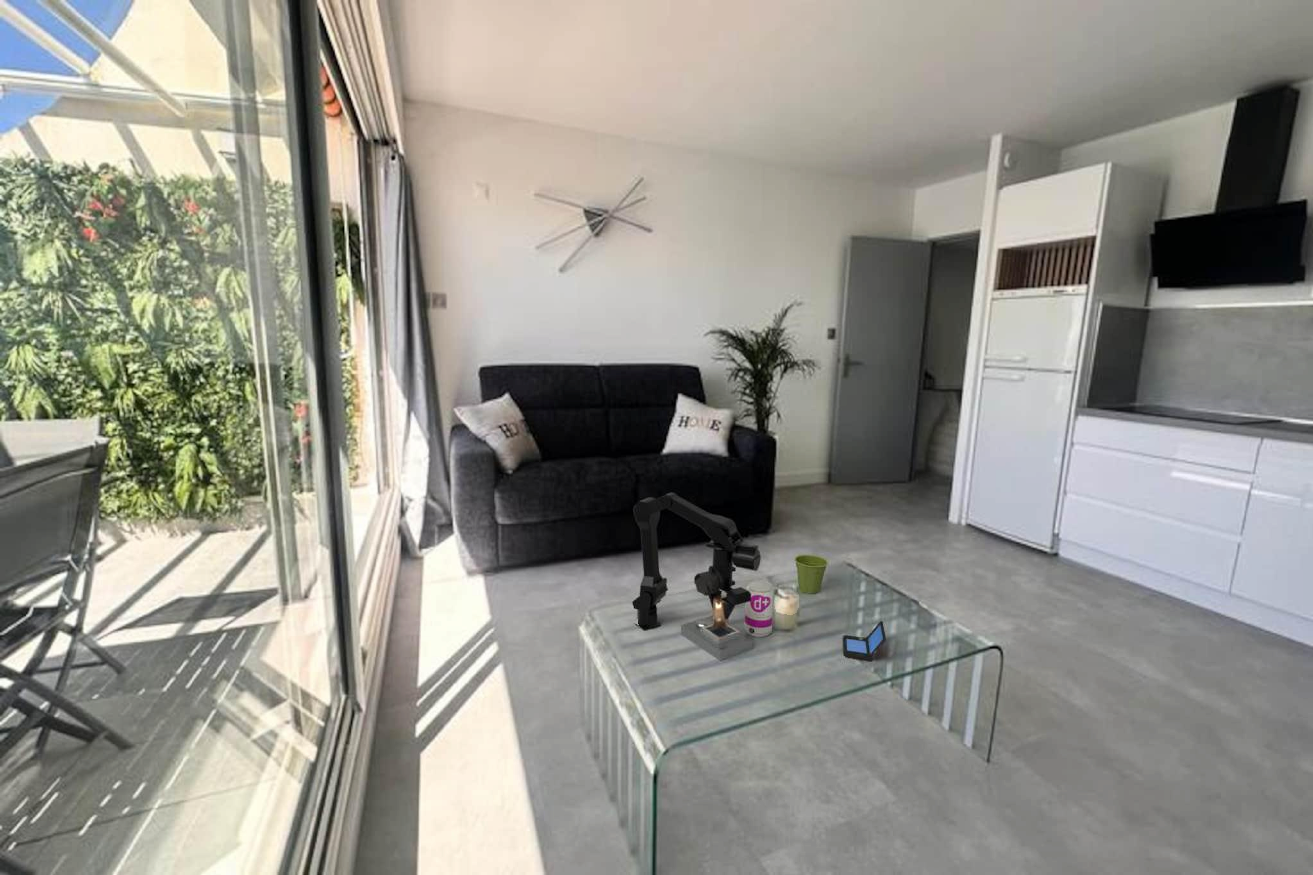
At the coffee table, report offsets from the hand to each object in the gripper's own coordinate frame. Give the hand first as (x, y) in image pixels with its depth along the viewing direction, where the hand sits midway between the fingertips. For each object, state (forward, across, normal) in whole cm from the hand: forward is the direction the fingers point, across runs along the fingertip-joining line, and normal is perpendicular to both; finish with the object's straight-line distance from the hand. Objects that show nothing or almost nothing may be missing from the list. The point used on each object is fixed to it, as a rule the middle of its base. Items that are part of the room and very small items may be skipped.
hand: (720, 615), depth 166 cm
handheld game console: (+9, +25, +32) cm, 42 cm away
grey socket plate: (+9, -2, 0) cm, 9 cm away
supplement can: (+9, 0, +15) cm, 18 cm away
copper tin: (+3, 0, 0) cm, 3 cm away
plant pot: (+9, -13, +53) cm, 55 cm away
